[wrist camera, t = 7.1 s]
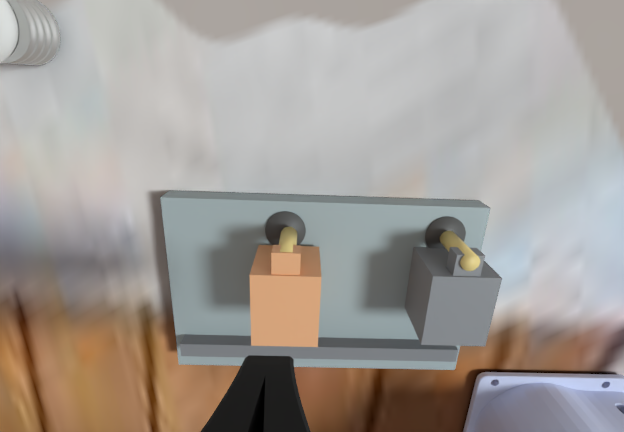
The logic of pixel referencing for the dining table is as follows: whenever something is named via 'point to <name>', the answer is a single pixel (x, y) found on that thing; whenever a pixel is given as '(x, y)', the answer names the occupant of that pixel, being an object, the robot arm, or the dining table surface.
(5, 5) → the lightbulb
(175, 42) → the dining table surface
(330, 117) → the dining table surface
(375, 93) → the dining table surface
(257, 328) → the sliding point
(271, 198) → the gauge board
